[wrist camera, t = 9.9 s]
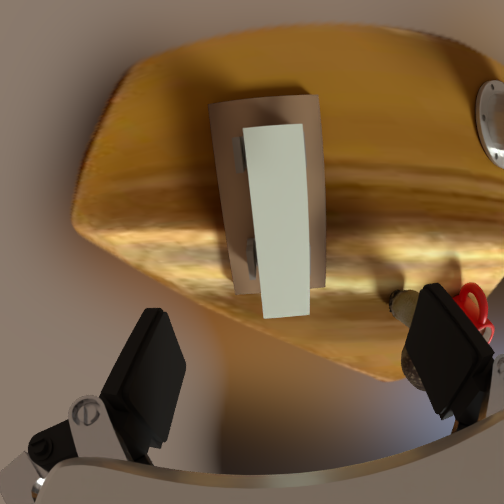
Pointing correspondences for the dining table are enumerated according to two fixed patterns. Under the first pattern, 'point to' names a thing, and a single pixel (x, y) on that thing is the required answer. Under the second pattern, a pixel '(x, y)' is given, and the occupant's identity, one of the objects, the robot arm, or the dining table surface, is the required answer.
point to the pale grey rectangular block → (280, 217)
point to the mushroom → (403, 310)
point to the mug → (476, 309)
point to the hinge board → (237, 182)
